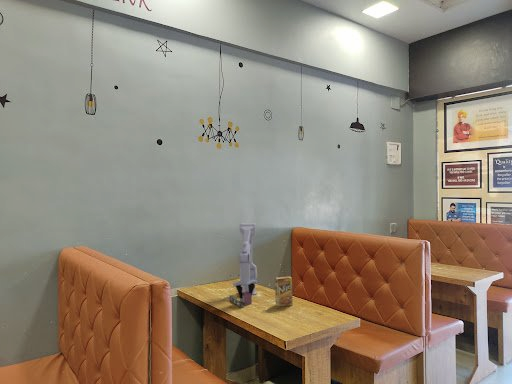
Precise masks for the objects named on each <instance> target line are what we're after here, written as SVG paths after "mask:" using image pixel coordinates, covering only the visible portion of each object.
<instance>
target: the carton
mask: <svg viewBox="0 0 512 384" xmlns="http://www.w3.org/2000/svg"><path fill="white" fill-rule="evenodd" d="M239 301H240V302H241V303H243V306H249V305H252V304H253V303H252V302H253V301H252V297H251V293H250V292H248V291H246V290H245V291H242V299H240V298H239Z"/></svg>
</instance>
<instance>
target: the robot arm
mask: <svg viewBox="0 0 512 384" xmlns="http://www.w3.org/2000/svg"><path fill="white" fill-rule="evenodd" d="M239 232H240V235H241V237H242V243H241V244H240V250H239V251H240V252H239V254H238V265H239V280H240V281H235V282H232V287H234V288H236V290H237V293H238V297H239V300H240V299H242V291H245V290H246V291H248V292H250V293H251V298H252V295H258V294H259V293H258V292H257V291H256V285H257V284H258V279H257V277H258V270H257V269H258V267H257V265H255V264H254V263H253V239H254V237H256V235H257V224H256V222H241V223H240V224H239Z"/></svg>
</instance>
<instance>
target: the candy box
mask: <svg viewBox="0 0 512 384" xmlns="http://www.w3.org/2000/svg"><path fill="white" fill-rule="evenodd" d="M274 289H275V290H274V291H275V292H274V293H275V296H274V297H275V305H276V307H285V306H293V301H294V299H293V278H292V277H291V276H289V275H288V276H279V277H274Z"/></svg>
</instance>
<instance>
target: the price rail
mask: <svg viewBox="0 0 512 384" xmlns="http://www.w3.org/2000/svg"><path fill="white" fill-rule="evenodd" d="M229 301H231V302H232V303H234V304H235V305H236V306H238V308H240V309H244V304H243V303H241V302H240V299H237V298H235V296H233V295H229Z"/></svg>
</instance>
